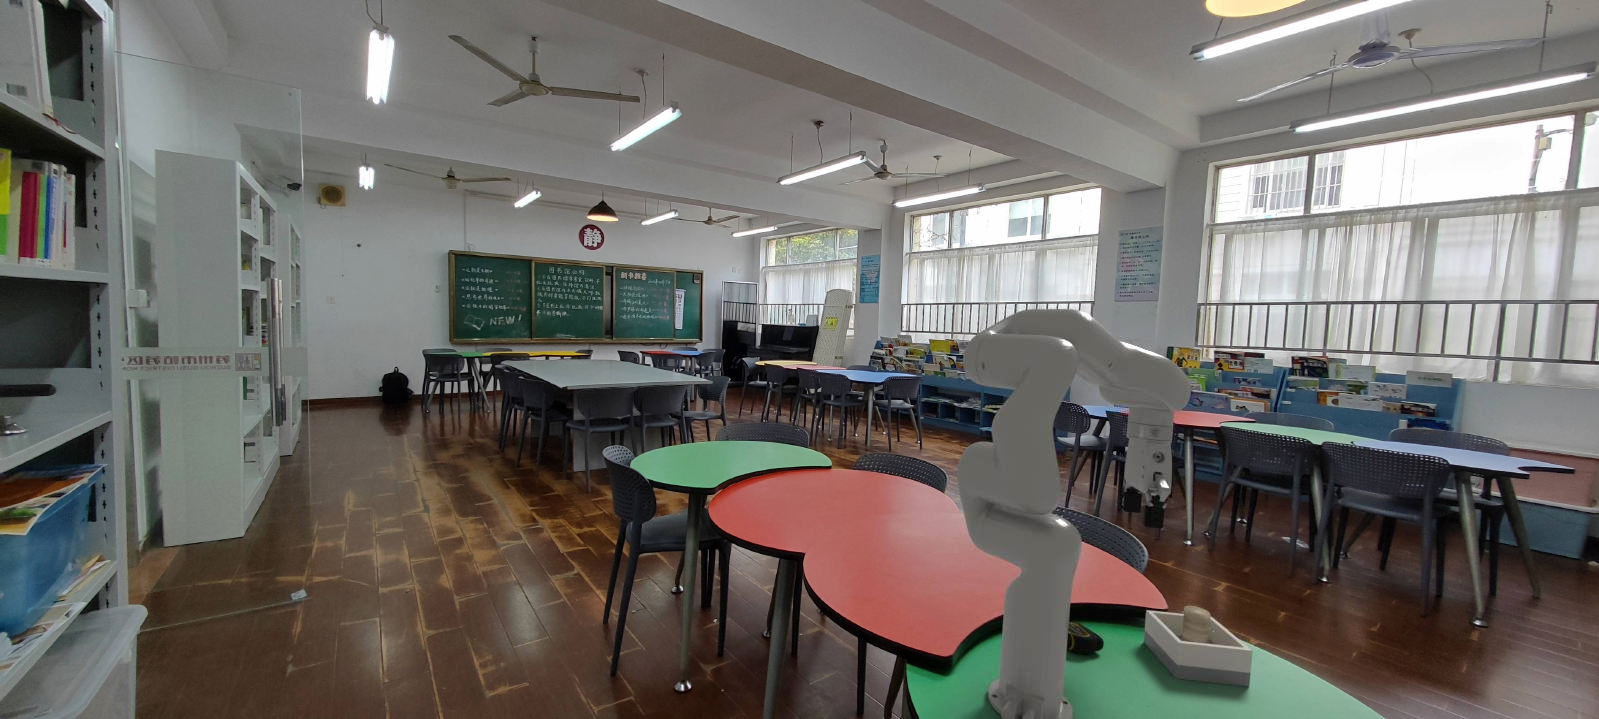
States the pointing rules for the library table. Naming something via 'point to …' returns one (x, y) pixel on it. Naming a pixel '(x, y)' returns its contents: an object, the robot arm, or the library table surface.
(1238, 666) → the bore box
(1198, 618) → the peg
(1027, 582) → the robot arm
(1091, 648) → the tape measure
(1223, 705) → the library table surface
